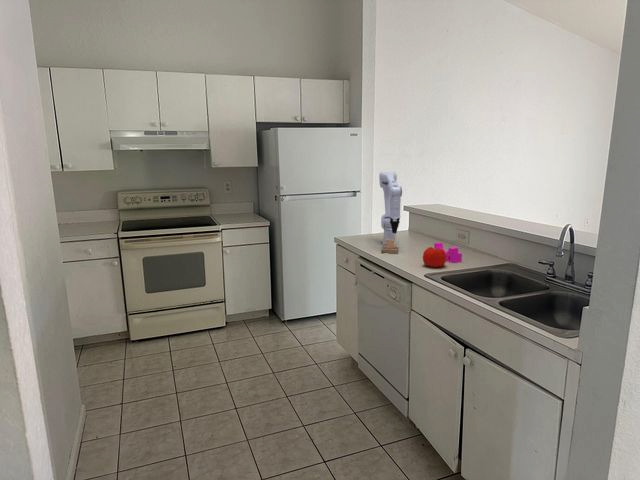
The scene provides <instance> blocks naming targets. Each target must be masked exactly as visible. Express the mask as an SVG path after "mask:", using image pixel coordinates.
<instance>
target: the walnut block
mask: <svg viewBox="0 0 640 480" xmlns="http://www.w3.org/2000/svg"><path fill="white" fill-rule="evenodd" d="M399 250H400V248H399V246H395V248H394V249H386V245H382V247H381V254H383V253H388V254H387V255H399Z"/></svg>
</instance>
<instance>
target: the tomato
mask: <svg viewBox="0 0 640 480" xmlns="http://www.w3.org/2000/svg"><path fill="white" fill-rule="evenodd" d="M444 250H445V249H444ZM444 250H442V249H440V248H436V249H434V247H432V246H428V247H427V248H425V250H424V252H423V255H422V262H423V264H424V265H426V266H428V267H431V268H434V269H435V268H438V267H440V268H441V267H444V266H445V264H446V263H447V261H446V259H447V257H446V252H445V251H446V250H445V251H444Z"/></svg>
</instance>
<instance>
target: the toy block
mask: <svg viewBox="0 0 640 480" xmlns="http://www.w3.org/2000/svg"><path fill="white" fill-rule="evenodd" d="M433 248H434V249H436V248H440V249H442V250H444V251H445V252H446V257H447V259H446V262H449V263H451V264H453V263H459V262H460V263H461V262H462V260H463V258H462V257H463V253H462V252H459V247H456V246H451V247H448V250H447V251H446V250H445V248H444V244H443V242H434V246H433Z"/></svg>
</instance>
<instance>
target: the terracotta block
mask: <svg viewBox="0 0 640 480" xmlns="http://www.w3.org/2000/svg"><path fill="white" fill-rule="evenodd" d="M385 246H386V249H394V248H395V247H396V245H395V239H391V238H387V239H386V245H385Z"/></svg>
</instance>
